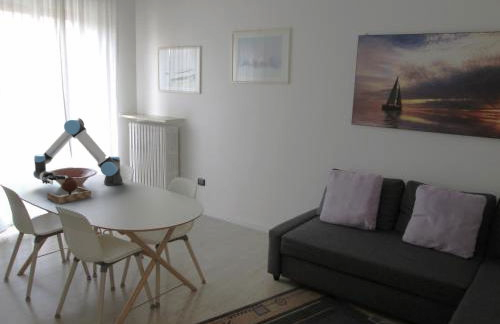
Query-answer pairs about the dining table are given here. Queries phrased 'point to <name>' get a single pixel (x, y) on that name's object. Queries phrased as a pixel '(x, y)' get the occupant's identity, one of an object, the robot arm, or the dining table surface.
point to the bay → (70, 196)
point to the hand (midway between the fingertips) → (61, 181)
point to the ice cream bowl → (69, 185)
